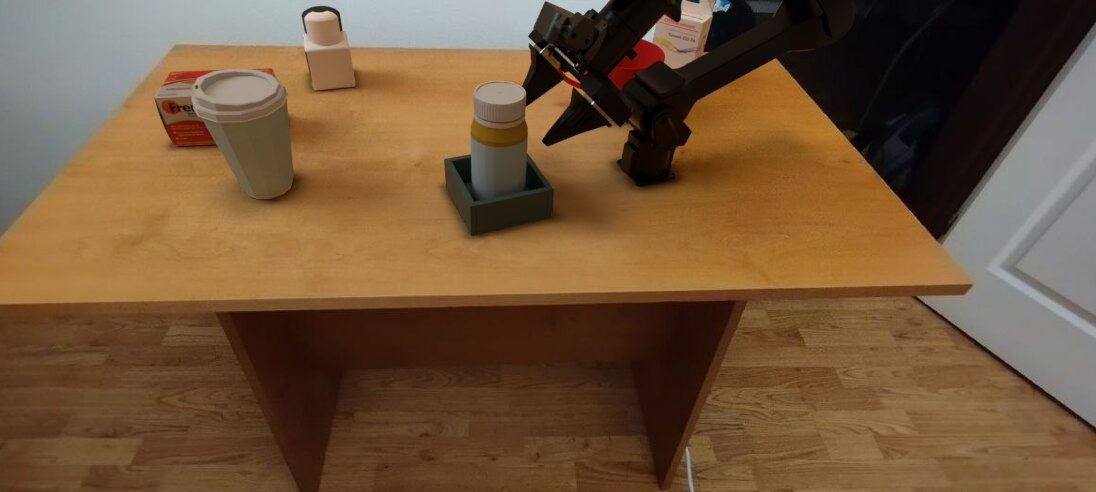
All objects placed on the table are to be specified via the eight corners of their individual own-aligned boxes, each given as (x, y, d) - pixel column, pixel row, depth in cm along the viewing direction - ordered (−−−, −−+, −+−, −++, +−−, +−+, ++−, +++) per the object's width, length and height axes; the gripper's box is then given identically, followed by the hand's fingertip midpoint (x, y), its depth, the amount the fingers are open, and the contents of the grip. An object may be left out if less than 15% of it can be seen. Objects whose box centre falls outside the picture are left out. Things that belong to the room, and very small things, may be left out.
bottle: (534, 195, 78) (541, 90, 68) (503, 220, 74) (505, 112, 63) (494, 176, 81) (494, 73, 70) (461, 199, 76) (457, 93, 66)
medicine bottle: (311, 73, 103) (296, 3, 95) (352, 69, 105) (340, 0, 97) (313, 91, 98) (297, 19, 90) (356, 87, 100) (344, 16, 92)
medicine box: (172, 147, 84) (150, 96, 78) (186, 120, 90) (166, 70, 84) (280, 142, 86) (266, 92, 81) (287, 116, 92) (275, 67, 86)
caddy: (520, 172, 83) (521, 144, 80) (552, 217, 75) (554, 189, 72) (445, 186, 79) (443, 158, 76) (470, 235, 72) (470, 206, 69)
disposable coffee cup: (305, 160, 83) (279, 57, 73) (314, 202, 76) (287, 95, 65) (226, 172, 80) (187, 68, 70) (227, 218, 73) (184, 109, 62)
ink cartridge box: (644, 76, 108) (660, -8, 98) (654, 67, 111) (671, -15, 101) (688, 88, 104) (709, 3, 94) (697, 78, 108) (718, -5, 98)
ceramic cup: (555, 87, 103) (559, 30, 96) (650, 95, 102) (661, 38, 95) (551, 123, 93) (555, 63, 86) (656, 131, 92) (669, 71, 86)
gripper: (547, -49, 68) (460, 56, 72) (625, 5, 55) (515, 127, 59) (598, 14, 75) (517, 105, 80) (677, 73, 63) (576, 177, 67)
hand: (529, 125), depth 71 cm, fingers open, 9 cm apart
